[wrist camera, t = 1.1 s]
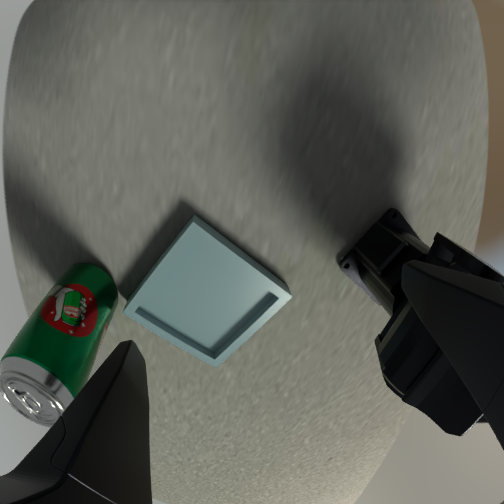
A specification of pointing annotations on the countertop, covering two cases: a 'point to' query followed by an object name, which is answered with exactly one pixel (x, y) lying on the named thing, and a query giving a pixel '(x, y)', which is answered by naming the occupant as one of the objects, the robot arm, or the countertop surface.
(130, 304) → the tray
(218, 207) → the countertop surface
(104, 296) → the soda can
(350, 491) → the countertop surface
